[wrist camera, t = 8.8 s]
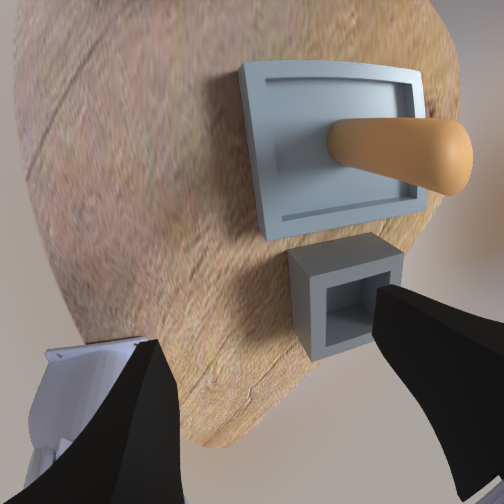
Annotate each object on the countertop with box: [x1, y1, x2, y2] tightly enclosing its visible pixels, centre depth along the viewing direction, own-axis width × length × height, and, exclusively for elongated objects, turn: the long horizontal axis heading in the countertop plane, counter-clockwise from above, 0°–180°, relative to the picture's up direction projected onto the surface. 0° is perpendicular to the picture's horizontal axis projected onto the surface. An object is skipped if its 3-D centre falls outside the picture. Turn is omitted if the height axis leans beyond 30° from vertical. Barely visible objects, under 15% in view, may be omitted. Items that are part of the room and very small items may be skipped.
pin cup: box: [287, 232, 404, 362], centre depth 20 cm, size 7×7×4 cm
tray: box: [237, 60, 427, 241], centre depth 17 cm, size 12×10×2 cm
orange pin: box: [327, 118, 473, 196], centre depth 13 cm, size 3×3×8 cm
